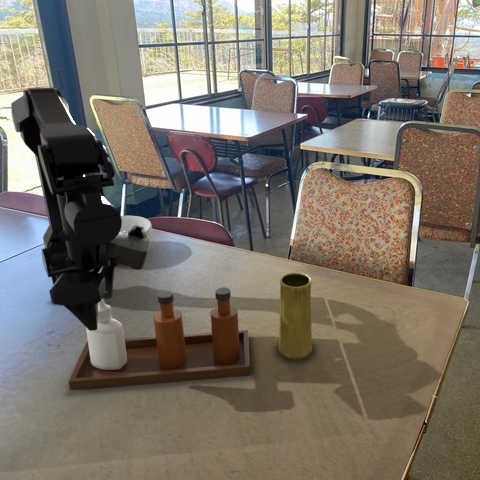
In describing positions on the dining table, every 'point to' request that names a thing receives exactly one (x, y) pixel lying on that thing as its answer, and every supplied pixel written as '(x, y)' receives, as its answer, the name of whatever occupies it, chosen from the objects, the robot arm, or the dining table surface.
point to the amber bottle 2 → (225, 328)
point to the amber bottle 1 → (169, 332)
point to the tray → (150, 371)
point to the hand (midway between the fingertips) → (101, 313)
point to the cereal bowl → (135, 220)
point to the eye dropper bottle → (107, 341)
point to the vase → (295, 315)
